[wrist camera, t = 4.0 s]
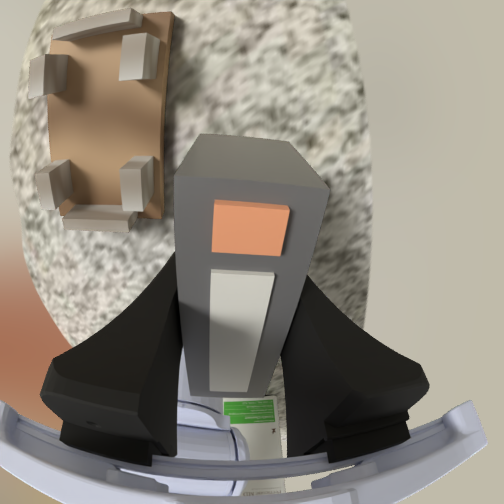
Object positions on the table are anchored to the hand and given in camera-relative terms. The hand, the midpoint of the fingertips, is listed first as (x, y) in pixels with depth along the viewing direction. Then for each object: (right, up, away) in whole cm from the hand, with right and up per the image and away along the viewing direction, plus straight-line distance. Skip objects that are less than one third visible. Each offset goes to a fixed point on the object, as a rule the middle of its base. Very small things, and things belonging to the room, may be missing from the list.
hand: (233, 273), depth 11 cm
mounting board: (-8, +9, +2) cm, 13 cm away
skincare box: (0, -22, +25) cm, 33 cm away
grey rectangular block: (0, +1, +1) cm, 2 cm away
